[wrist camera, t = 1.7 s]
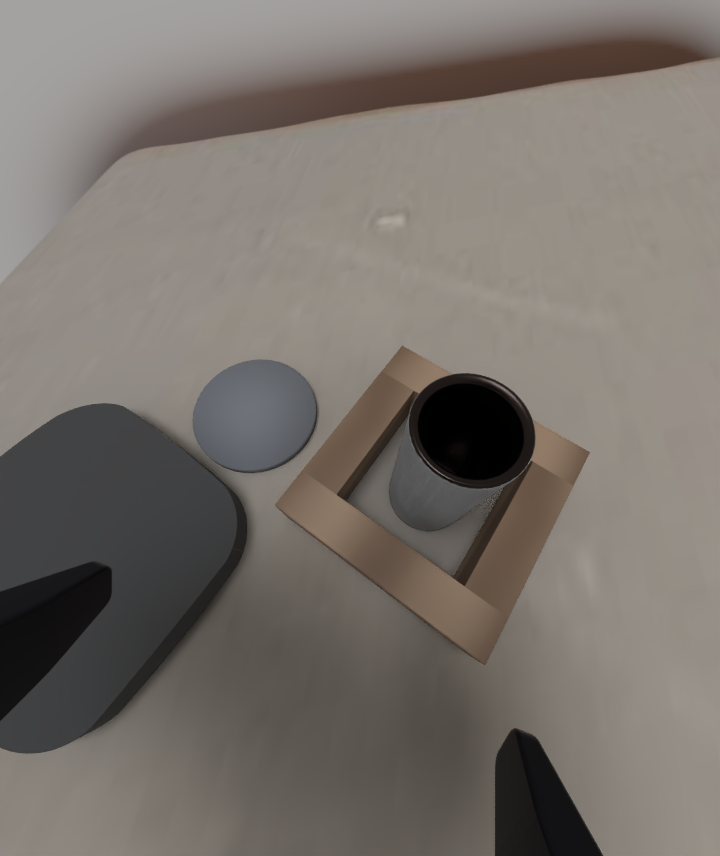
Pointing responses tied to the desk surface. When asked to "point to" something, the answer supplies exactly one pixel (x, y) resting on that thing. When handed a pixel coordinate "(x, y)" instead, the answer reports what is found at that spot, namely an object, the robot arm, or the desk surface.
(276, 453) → the mat
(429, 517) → the planter
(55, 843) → the desk surface
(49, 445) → the media streaming box
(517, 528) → the planter holder
